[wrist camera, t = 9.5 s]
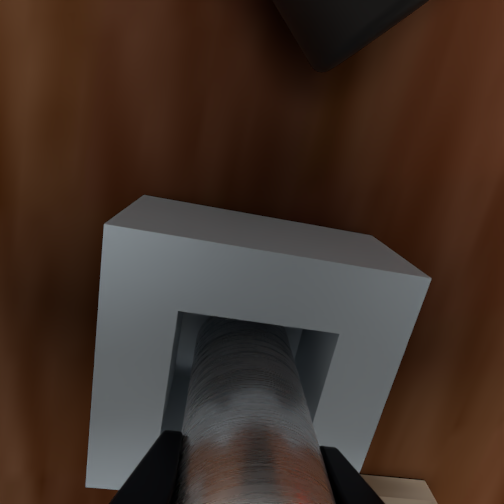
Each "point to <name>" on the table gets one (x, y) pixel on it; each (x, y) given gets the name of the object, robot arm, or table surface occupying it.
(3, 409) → the table surface
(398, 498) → the birch block
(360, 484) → the robot arm
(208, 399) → the cylinder
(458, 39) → the table surface
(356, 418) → the slate block
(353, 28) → the end cap
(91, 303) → the table surface
